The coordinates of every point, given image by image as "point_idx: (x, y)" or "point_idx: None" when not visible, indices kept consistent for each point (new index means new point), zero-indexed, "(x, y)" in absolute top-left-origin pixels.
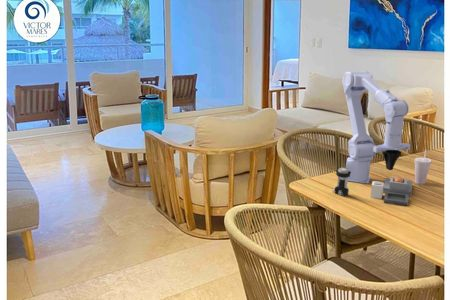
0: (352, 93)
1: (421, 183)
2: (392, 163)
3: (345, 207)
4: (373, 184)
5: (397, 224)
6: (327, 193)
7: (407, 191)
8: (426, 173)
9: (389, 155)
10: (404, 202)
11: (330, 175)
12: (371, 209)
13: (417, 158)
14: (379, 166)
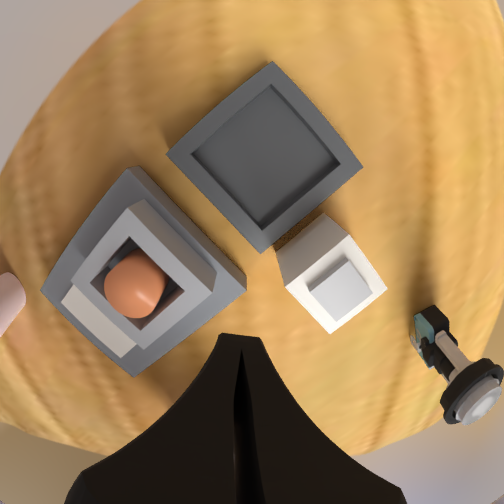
0: None
1: (12, 276)
2: (234, 388)
3: (499, 218)
4: (373, 289)
5: (444, 4)
6: None
7: (144, 185)
8: None
9: (398, 492)
10: (286, 75)
11: None
12: (452, 144)
13: None
14: (85, 438)
